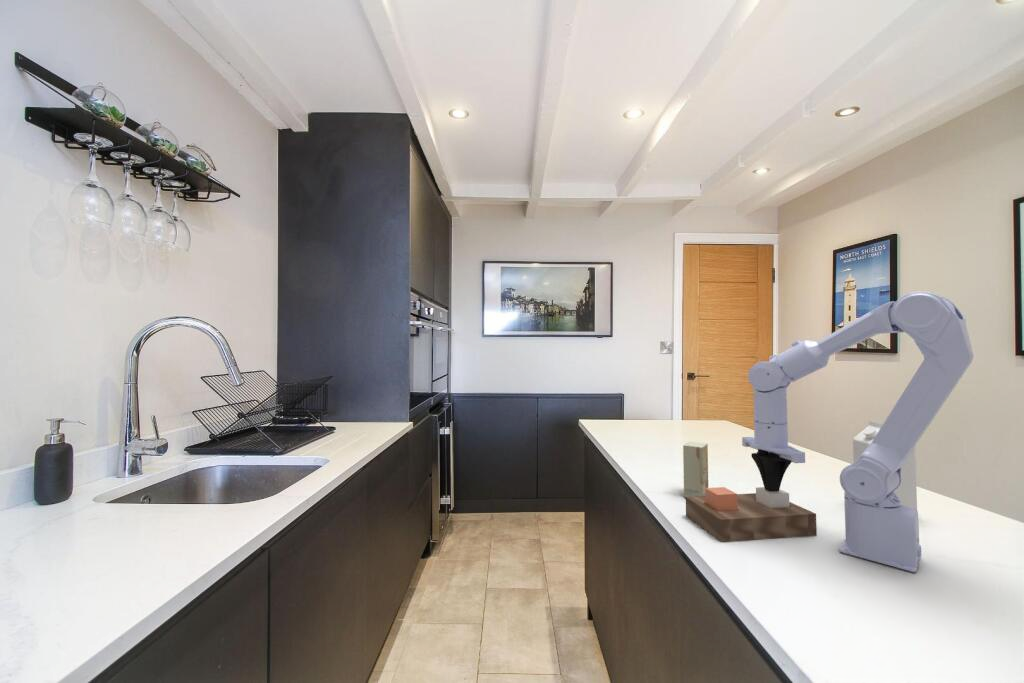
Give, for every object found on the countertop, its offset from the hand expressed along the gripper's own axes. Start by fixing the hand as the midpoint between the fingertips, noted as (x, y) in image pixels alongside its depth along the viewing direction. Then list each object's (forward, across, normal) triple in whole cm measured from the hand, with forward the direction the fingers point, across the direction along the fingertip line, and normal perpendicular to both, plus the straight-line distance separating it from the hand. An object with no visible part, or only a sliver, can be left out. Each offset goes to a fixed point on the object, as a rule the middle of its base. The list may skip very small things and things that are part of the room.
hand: (772, 490), depth 83 cm
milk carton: (+7, -1, +27) cm, 28 cm away
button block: (+6, 0, -6) cm, 9 cm away
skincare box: (+7, -18, -6) cm, 20 cm away
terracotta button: (+3, 0, -11) cm, 12 cm away
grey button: (+4, 0, 0) cm, 4 cm away
